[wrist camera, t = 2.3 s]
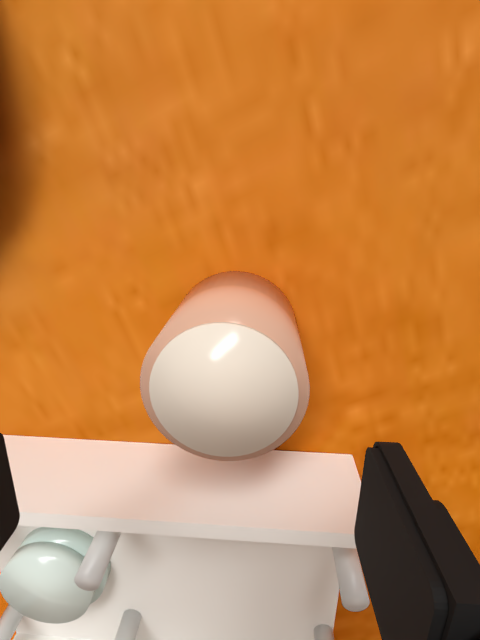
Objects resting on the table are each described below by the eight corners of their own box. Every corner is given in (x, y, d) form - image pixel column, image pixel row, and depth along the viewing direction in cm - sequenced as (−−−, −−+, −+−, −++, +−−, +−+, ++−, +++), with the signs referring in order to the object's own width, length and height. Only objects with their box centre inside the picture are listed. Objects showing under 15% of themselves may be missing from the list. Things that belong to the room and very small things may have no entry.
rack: (352, 454, 21) (380, 544, 16) (325, 646, 27) (339, 761, 21) (-17, 433, 22) (-104, 511, 17) (28, 622, 28) (-27, 725, 22)
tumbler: (300, 273, 18) (317, 316, 12) (292, 386, 20) (303, 470, 14) (174, 269, 18) (131, 309, 13) (178, 381, 20) (143, 460, 15)
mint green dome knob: (106, 528, 23) (91, 560, 21) (114, 595, 24) (101, 631, 23) (13, 522, 23) (-10, 553, 21) (28, 589, 25) (8, 623, 23)
